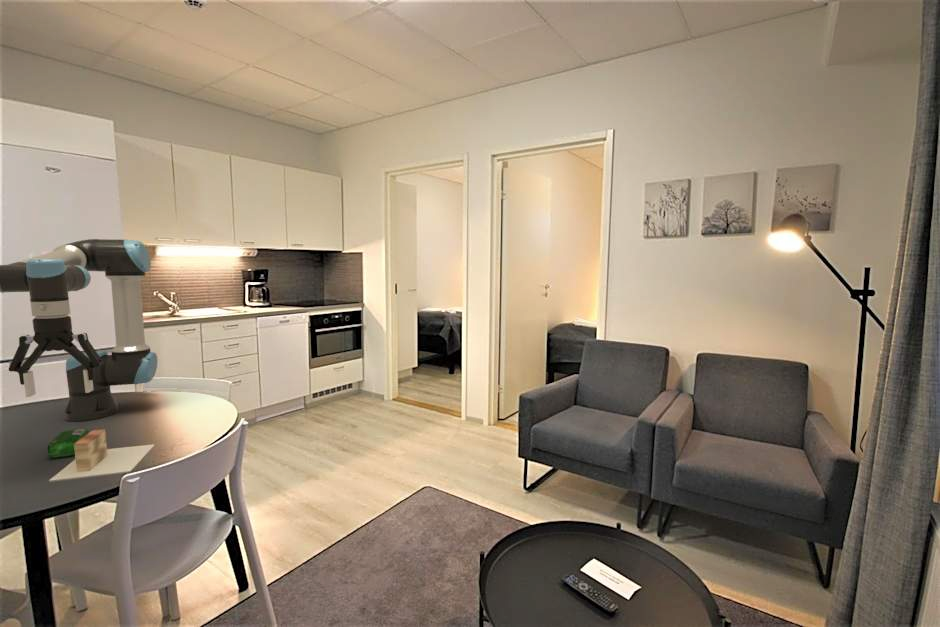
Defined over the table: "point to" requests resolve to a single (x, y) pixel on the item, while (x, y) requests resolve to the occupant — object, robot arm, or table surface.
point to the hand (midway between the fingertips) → (60, 393)
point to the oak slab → (90, 450)
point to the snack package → (65, 442)
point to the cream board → (107, 463)
